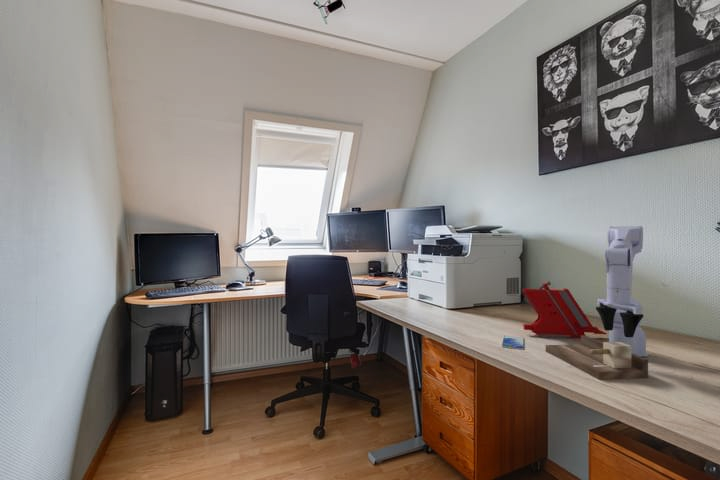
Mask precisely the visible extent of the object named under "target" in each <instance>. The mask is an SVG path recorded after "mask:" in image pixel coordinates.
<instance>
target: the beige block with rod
mask: <svg viewBox="0 0 720 480" xmlns="http://www.w3.org/2000/svg"><path fill="white" fill-rule="evenodd" d="M602 342H603V341H602ZM590 353H591V354H592V355H595V354H603V363H604V364H606V365H608V366H610V367H612V368H631V346H629V345H627V344H624V343H621V342H609V341H606V342H605V341H604V342H603V349H591V350H590Z"/></svg>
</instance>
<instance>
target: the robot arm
mask: <svg viewBox="0 0 720 480" xmlns="http://www.w3.org/2000/svg"><path fill="white" fill-rule="evenodd" d="M606 234H607V243H608V249H605V252H604V264H605V272H606V298H597V303H596V304H597V306H595V310H596V311H597V313H598V315H599V316H600V319H601V323H602V325H603V330H604V331H608V332H609V333H608V337H609V338H608V342H621V343H624V344H627V345H629V346H631V353H632V354H635V355H637V356H640V357H649V354H647V337H646V333H645V331H644V329H643V328H642V327H641V326H642V323H643V321H642V319H643V318H644V314H643V311H644V310H643V306H642V305H641V303H640V301H639V300H636V299H635V298H633V296H632V291H633V290H632V289H633V288H632V287H633V264H634V263H633V262H634V259H635V256H636V255H638V254H639V253H642V250H643V244H644V227H643V226H642V225H634V226H629V225H628V226H627V225H626V226H612V225H610V226H608V228H607V233H606Z"/></svg>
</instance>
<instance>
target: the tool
mask: <svg viewBox="0 0 720 480" xmlns="http://www.w3.org/2000/svg"><path fill="white" fill-rule="evenodd" d="M551 285H552V283H551V281H547V282H544V283H542V284H541V286H539V287H538V288H523V289H522V292H523V294H524V296H525V297H526V299H527V300H528V302H529V303H530V305H531V306H532V308H533V310H534V312H535V313H536V314H537V318H536V319H535V320H534V321H533V322H531V323H523V325H522V326H523V330H524V331H531V332H532V333H534V334H535V335H536V336H538V337H539V338H554V339H556V338H558V339H560V338H561V339H571V338H575V339H576V338H579V339H581V336H582V335H585V336H587V334H586V333H591V334H594V335H608V333H607V332H606V331H603V330H602V329H601V330H600V329H599V328H598V327H597V326H595V325H592V323H591V322H590V320H589V319H588V317H587V316H586V314H585V313H584V311H583V310H582V308H581V307H580V305H579V304H578V302H577V301H576V299H575V298H574V296H573V294H572V293H571V291H570V290H569V289H568V288H563V289H553V288H552V289H551V288H550V287H549V286H551Z"/></svg>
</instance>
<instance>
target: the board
mask: <svg viewBox="0 0 720 480" xmlns="http://www.w3.org/2000/svg"><path fill="white" fill-rule="evenodd" d="M585 335H586V334H585ZM585 335H582V336H581V338H580V344H579V343H577V344H545V352H547V353H549V354H551V355H552V356H554V357H556V358H558V359H560V360H561V361H564V362H565V363H568V364H570V366H573V367H575V368H577V369H579V370H580V371H583V372H584V373H585V374H588V375H589V376H591V377H593V378H595V379H598V380H623V379H625V380H626V379H648V378H649V359H648V358H646V357H644V356H637V355H635V354H632V353H631V368H612V367H610V366H608V365H606V364H604V363H603V354H595V355H592V354H591V353H590V350H591V349H603V341H600V340H598V339H596V338H593V337H590V336H588V335H586V336H585Z"/></svg>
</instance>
